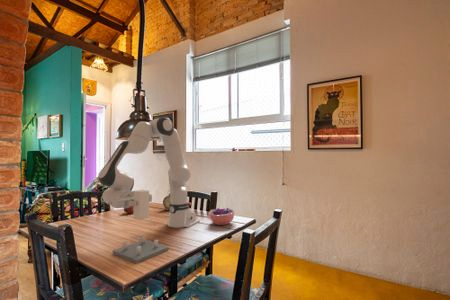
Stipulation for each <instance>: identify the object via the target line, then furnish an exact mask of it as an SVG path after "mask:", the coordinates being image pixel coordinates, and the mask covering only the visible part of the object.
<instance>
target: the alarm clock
mask: <svg viewBox="0 0 450 300" xmlns="http://www.w3.org/2000/svg"><path fill="white" fill-rule="evenodd" d="M168 192H170V189H169V190H168ZM169 204H170V193H168V195H166V196H165V197H164V198H163V201H162V205H163V207H164V211H166V210H170V209H169Z"/></svg>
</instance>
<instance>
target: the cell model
mask: <svg viewBox="0 0 450 300" xmlns="http://www.w3.org/2000/svg"><path fill="white" fill-rule="evenodd" d="M208 217H209V218H208V219H210V220H211V222H212V223H213V224H215V225H217V226H225V225H228V224H230V223H231V222H232V221H233V220H234V218H235V210H233V209H231V208H229V207H226V208H222V207H217V208H214V209H213V208H212V209H210V210H209V212H208Z"/></svg>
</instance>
